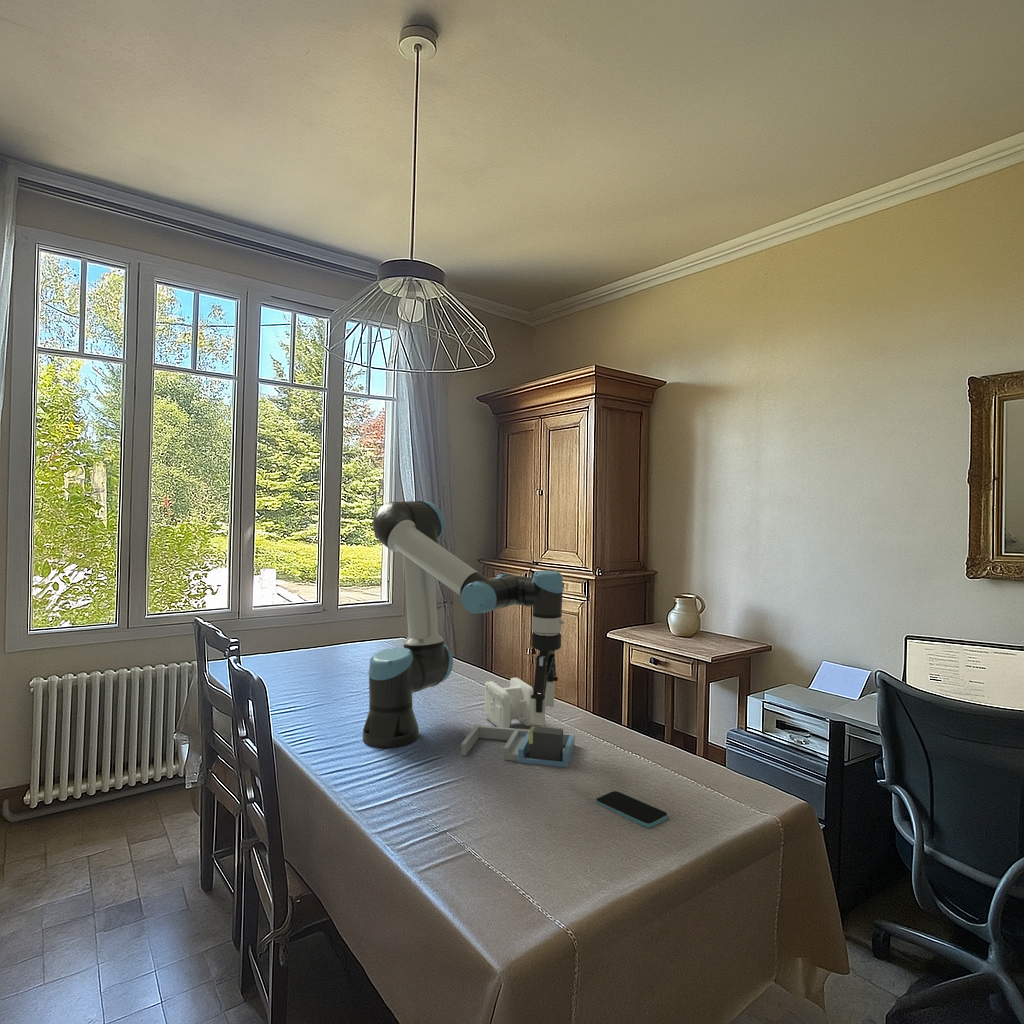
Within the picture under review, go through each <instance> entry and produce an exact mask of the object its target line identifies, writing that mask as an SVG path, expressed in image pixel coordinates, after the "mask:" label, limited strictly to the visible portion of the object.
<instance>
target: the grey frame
mask: <svg viewBox="0 0 1024 1024" xmlns="http://www.w3.org/2000/svg"><path fill="white" fill-rule="evenodd" d="M529 731H530V729H527V728H526V729H525V728H514V727H510V728H504V727H497V726H493V725H491V726H490V725H478V724H475V726H474V727H473V728H472V729H471V730H470V731H469V733H468V734H467V736H466V737H465V739H463V741H462V742H461V744H460V756H467V754H468V753H469V752H470V750H471V749H472V748H473V746H474V745H475V744H476V742H477V741H478V739H487V740H489V739H490V740H499V741H500V740H501V741H507V742H506V743H505V745H504V747H503V760H505V761H512V762H513V761H515V762H517V763H521V764H528V765H529V764H532V765H540V766H549V767H550V766H551V767H558V768H559V767H561V768H568V765H569V762H570V759H571V756H572V754H573V751H574V749H575V745H576V744H575V741H576V740H575V739H576V738H575V737H576V736H575V733H571V732H568V733H567V732H563V747H564V748H563V757H562V760H561V761H552V760H542V759H532V758H529V757H527V755H528V754H529Z"/></svg>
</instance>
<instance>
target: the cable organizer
mask: <svg viewBox="0 0 1024 1024" xmlns="http://www.w3.org/2000/svg"><path fill="white" fill-rule="evenodd" d="M533 690H534V687H533V686H531V685H529V684H527V682H524V681H523V680H522V679H520V678H519V677H517V676H516V677H511V678H510V682H509V687H501V686H500V685H498V683H496V682H494V681H493V680H492V681H491V680H490V681H486V682H485V683H484V713H485V717H486V719H488V721H489V722H491V723H492V724H493V725H494V726H495V727H504V728H511V727H510V726H512V720H519V723H523V725H525V727H530V726H534V725H535V724H534V699H532V698H531V695H533Z"/></svg>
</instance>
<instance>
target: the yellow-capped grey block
mask: <svg viewBox="0 0 1024 1024" xmlns="http://www.w3.org/2000/svg"><path fill="white" fill-rule="evenodd" d="M529 730H530V731H529V751H528V758H532V759H542V760H552V761H563V751H564V746H563V733H564V728H558V727H557V728H556V727H555V728H553V727H546V726H545V727H544V726H537V725H536V726H534V725H531V727H530V729H529Z"/></svg>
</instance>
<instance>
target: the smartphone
mask: <svg viewBox="0 0 1024 1024" xmlns="http://www.w3.org/2000/svg"><path fill="white" fill-rule="evenodd" d="M595 803H596V804H598V805H599V806H602V807H604V808H605V809H607V810H609V811H611V812H613V813H616V814H617V815H619V816H622V817H623V818H625V819H627V820H629V821H630V822H631V821H632V822H633V823H635V824H636V825H637V824H638V825H640V826H641V827H644V828H648V829H649V828H650V829H651V828H653V827H655V826H657V825H659V824H661V823H662V822H664V821H666V820H668V819H669V813H668V812H667V811H664V810H662V809H660V808H658V807H655V806H653V805H652V804H648V803H646V802H643V801H641V800H639V799H636V798H634V797H632V796H630V795H628V794H626V793H623V792H620V791H617V790H613V791H610V792H608V793H605V794H604V795H600V796H599V797H596V798H595Z"/></svg>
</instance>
